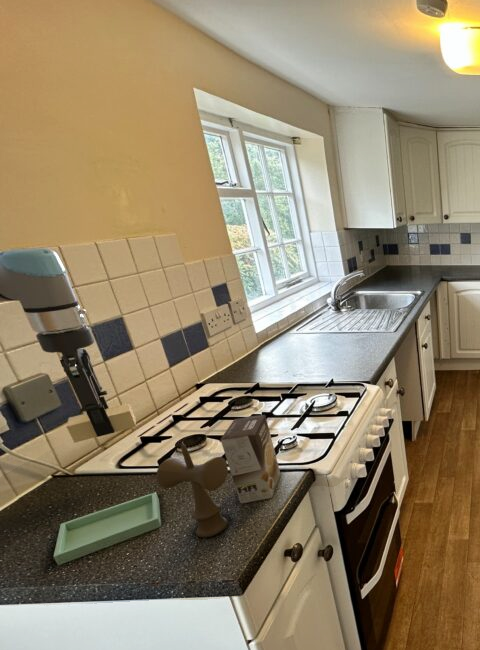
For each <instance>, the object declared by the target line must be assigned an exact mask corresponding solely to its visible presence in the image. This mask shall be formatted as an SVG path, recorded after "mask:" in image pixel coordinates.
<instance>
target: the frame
mask: <svg viewBox="0 0 480 650" xmlns="http://www.w3.org/2000/svg"><path fill="white" fill-rule="evenodd" d="M160 508H161V507H160V499H159V497H158V494H157V492H156V491H154V492H152V493H149V494H146V495H141V496H140V497H137V498H134V499H130V500H127V501H125V502H122V503H119V504H116V505H113V506H109V507H106V508H104V509H102V510H101V509H100V510H97V511H94V512H92V513H89V514H86V515H83V516H80V517H77V518H74V519H71V520H68V521H65V522H63V523H60V526H59V530H58V535H57V538H56V544H55V549H54V552H53V559H54V561H55V562H56V564H57V566H61V565H63V564H66V563H69V562H71V561H74V560H77V559H79V558H82V557H85V556H86V555H90V554H92V553H95V552H97V551H100V550H103V549H106V548H108V547H111V546H114V545H116V544H119V543H121V542H125V541H127V540H129V539H132V538H135V537H137V536H140V535H143V534H145V533H148V532H152V531H154V530H156V529H158V528H161V527H162V520H161V509H160Z"/></svg>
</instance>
